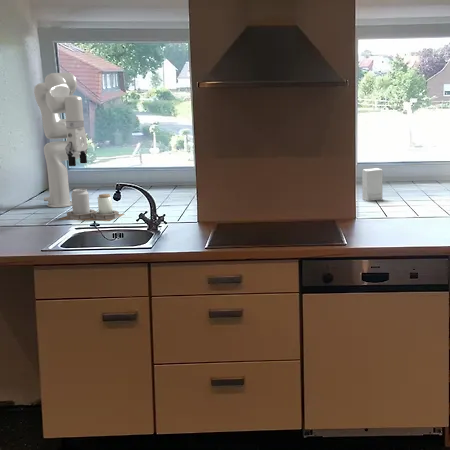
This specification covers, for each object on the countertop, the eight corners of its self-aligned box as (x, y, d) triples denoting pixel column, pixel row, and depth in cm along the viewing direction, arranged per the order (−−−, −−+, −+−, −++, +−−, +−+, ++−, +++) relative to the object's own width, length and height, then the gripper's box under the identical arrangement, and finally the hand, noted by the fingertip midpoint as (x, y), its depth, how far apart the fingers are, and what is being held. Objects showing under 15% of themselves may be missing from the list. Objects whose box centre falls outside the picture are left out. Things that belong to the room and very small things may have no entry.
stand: (58, 221, 291) (57, 214, 291) (75, 215, 305) (74, 208, 305) (109, 223, 284) (109, 216, 283) (125, 216, 298) (124, 209, 297)
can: (85, 218, 292) (83, 191, 289) (70, 217, 293) (67, 190, 291) (92, 214, 299) (90, 188, 296) (77, 214, 301) (75, 188, 298)
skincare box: (377, 197, 325) (377, 167, 322) (383, 200, 319) (383, 169, 316) (361, 199, 323) (361, 168, 320) (366, 201, 318) (367, 170, 314)
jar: (96, 218, 291) (95, 195, 288) (103, 215, 296) (101, 193, 294) (109, 218, 289) (107, 196, 287) (115, 216, 294) (113, 193, 292)
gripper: (72, 126, 279) (75, 167, 283) (92, 123, 295) (95, 162, 299) (56, 126, 281) (60, 167, 285) (77, 123, 297) (80, 162, 301)
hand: (78, 164), depth 292 cm, fingers open, 9 cm apart
